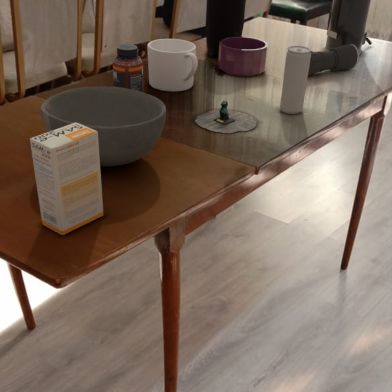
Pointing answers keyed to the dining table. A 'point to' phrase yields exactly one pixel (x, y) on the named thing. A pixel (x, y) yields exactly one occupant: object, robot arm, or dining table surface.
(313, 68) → the flashlight
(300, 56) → the beverage can
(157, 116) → the bowl
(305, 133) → the dining table surface
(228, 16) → the portable speaker
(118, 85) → the supplement bottle
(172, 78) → the mug
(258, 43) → the plum bowl
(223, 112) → the sculpture
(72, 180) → the supplement box
